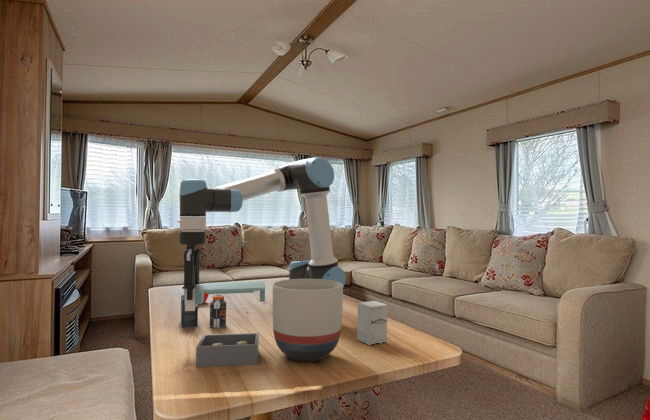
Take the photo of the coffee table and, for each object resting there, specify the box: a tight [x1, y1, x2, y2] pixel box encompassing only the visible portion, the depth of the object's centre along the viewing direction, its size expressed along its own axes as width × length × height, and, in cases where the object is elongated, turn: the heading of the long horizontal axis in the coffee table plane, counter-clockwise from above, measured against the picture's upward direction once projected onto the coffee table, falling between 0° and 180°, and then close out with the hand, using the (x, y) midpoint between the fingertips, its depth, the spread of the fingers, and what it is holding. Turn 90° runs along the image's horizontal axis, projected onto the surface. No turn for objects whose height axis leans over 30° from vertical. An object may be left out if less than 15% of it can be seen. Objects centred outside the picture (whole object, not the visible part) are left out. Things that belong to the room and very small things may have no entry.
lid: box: [183, 280, 266, 305], centre depth 115 cm, size 24×12×5 cm, turn 100°
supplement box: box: [356, 300, 388, 346], centre depth 126 cm, size 7×7×13 cm
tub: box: [195, 332, 260, 368], centre depth 106 cm, size 16×11×6 cm
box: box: [180, 294, 199, 329], centre depth 143 cm, size 8×6×11 cm
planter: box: [272, 278, 344, 363], centre depth 110 cm, size 20×20×21 cm
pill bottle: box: [209, 294, 227, 329], centre depth 142 cm, size 6×6×11 cm
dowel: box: [237, 341, 247, 345], centre depth 107 cm, size 3×3×4 cm
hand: (191, 308), depth 113 cm, fingers closed on lid, 4 cm apart
